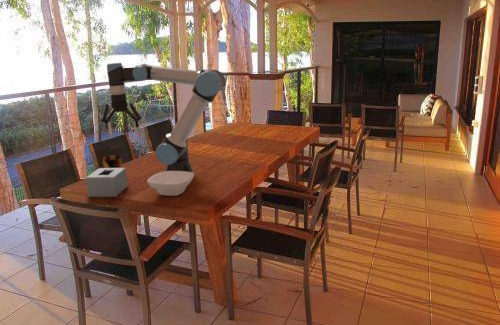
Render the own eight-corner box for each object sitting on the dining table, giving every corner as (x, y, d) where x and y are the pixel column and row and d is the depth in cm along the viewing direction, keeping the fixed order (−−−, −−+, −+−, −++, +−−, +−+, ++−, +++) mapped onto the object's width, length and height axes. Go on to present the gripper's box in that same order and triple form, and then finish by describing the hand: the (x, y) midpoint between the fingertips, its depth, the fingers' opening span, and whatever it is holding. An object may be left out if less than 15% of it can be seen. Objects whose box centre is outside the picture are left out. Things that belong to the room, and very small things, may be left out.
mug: (117, 183, 235) (115, 161, 232) (101, 179, 243) (98, 158, 240) (131, 178, 243) (129, 157, 240) (115, 175, 251) (113, 154, 247)
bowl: (163, 185, 229) (162, 169, 227) (200, 188, 223) (199, 171, 221) (143, 199, 210) (141, 182, 208) (182, 202, 204) (181, 184, 202)
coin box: (127, 186, 230) (125, 167, 227) (116, 196, 215) (113, 177, 212) (101, 186, 231) (99, 168, 229) (88, 196, 216) (85, 177, 213)
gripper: (144, 91, 229) (148, 131, 234) (96, 94, 230) (102, 134, 235) (140, 93, 221) (145, 134, 227) (91, 95, 222) (97, 137, 228)
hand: (123, 134), depth 231 cm, fingers open, 13 cm apart
